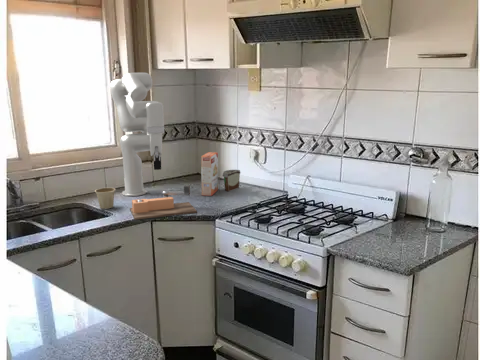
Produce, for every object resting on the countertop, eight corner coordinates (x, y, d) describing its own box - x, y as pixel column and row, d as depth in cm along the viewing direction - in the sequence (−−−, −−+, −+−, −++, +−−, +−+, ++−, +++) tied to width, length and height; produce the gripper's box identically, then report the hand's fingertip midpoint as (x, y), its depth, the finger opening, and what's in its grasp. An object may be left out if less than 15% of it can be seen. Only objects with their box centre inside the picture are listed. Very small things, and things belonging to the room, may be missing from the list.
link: (134, 213, 212) (133, 203, 211) (132, 209, 217) (131, 200, 216) (174, 208, 218) (174, 199, 217) (171, 205, 223) (171, 196, 222)
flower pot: (99, 211, 219) (98, 193, 217) (93, 206, 226) (92, 189, 224) (119, 208, 224) (118, 190, 222) (113, 203, 231) (111, 186, 229)
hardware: (137, 210, 216) (136, 199, 215) (167, 203, 226) (166, 193, 225) (139, 211, 214) (138, 200, 213) (170, 204, 224) (169, 194, 223)
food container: (231, 186, 264) (231, 168, 262) (240, 187, 261) (240, 169, 258) (218, 190, 254) (217, 172, 252) (227, 192, 251) (226, 173, 249)
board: (130, 210, 220) (129, 208, 220) (188, 203, 229) (188, 201, 229) (134, 219, 205) (134, 217, 205) (196, 212, 214) (196, 210, 214)
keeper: (161, 195, 222) (161, 186, 221) (163, 193, 225) (163, 184, 224) (189, 195, 221) (188, 186, 220) (190, 193, 224) (190, 185, 223)
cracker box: (212, 196, 243) (211, 156, 238) (201, 195, 244) (200, 156, 239) (219, 189, 256) (218, 151, 251) (208, 189, 257) (207, 151, 253)
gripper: (147, 128, 219) (149, 164, 223) (146, 132, 202) (148, 171, 206) (164, 127, 220) (165, 163, 224) (164, 132, 204) (166, 170, 207)
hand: (157, 167), depth 215 cm, fingers open, 9 cm apart
